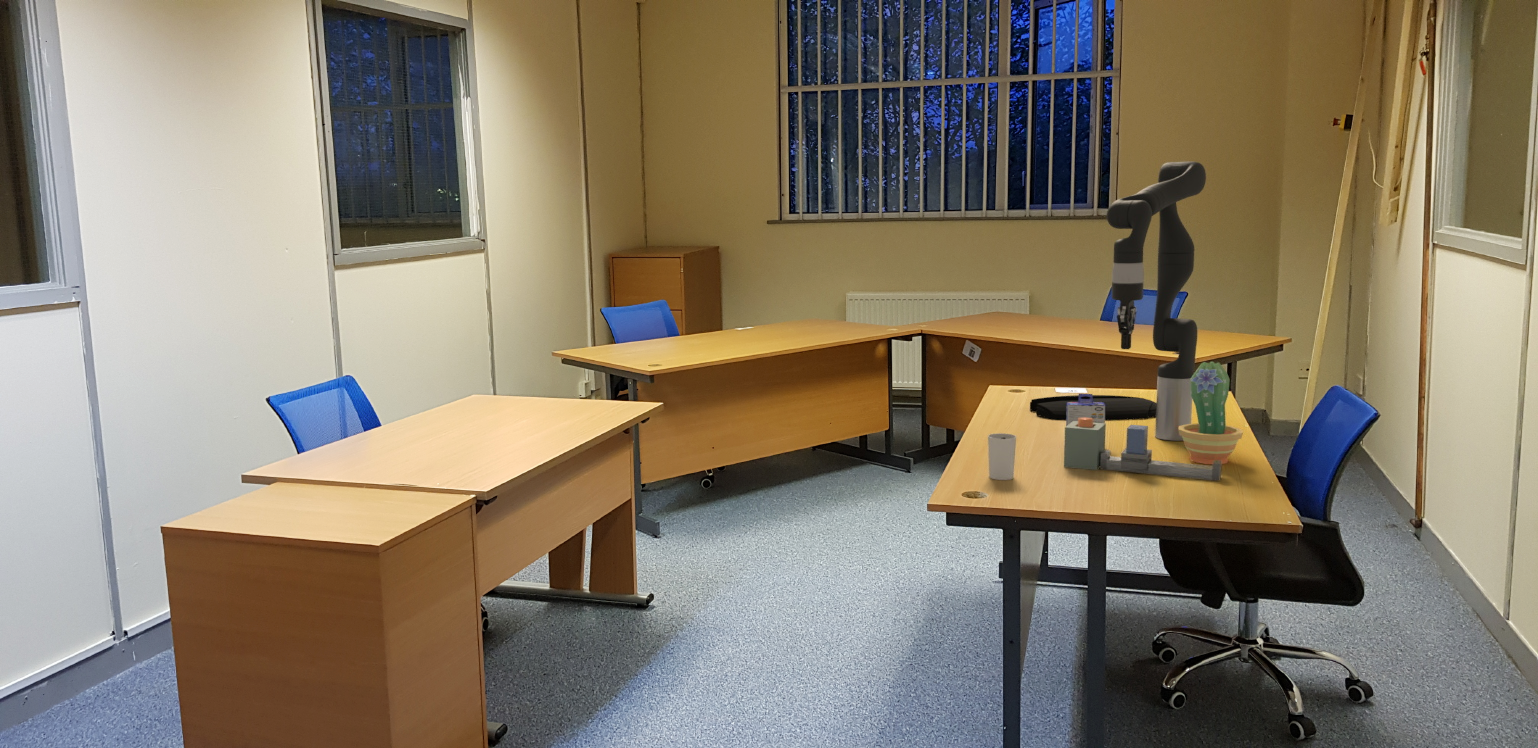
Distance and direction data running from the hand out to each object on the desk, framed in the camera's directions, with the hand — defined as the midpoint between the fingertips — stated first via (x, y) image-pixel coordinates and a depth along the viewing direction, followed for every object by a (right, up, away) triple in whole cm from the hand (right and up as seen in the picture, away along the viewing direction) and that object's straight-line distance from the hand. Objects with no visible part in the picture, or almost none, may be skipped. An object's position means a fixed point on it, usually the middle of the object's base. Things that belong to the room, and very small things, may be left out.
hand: (1125, 348), depth 269 cm
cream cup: (-35, -31, -15) cm, 50 cm away
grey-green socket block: (-12, -29, -4) cm, 32 cm away
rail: (+3, -30, -14) cm, 33 cm away
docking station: (+12, -19, +63) cm, 67 cm away
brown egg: (-12, -24, -5) cm, 27 cm away
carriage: (-1, -30, -11) cm, 32 cm away
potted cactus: (+20, -28, -2) cm, 35 cm away
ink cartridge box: (-6, -26, +14) cm, 31 cm away
